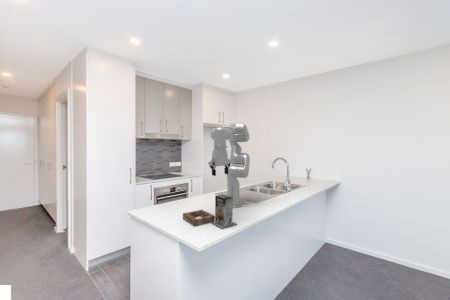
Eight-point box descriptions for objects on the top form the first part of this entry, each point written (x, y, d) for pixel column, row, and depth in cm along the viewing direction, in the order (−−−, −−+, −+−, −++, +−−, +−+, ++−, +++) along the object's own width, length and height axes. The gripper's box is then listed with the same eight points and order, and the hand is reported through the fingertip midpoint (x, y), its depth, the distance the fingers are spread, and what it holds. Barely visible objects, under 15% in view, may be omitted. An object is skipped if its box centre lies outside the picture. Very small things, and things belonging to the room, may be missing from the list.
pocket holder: (202, 214, 142) (202, 209, 142) (214, 221, 129) (214, 215, 129) (182, 218, 134) (182, 213, 134) (194, 226, 121) (194, 220, 121)
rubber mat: (225, 219, 132) (225, 218, 132) (236, 225, 123) (236, 224, 123) (211, 223, 126) (211, 222, 126) (221, 229, 117) (221, 228, 117)
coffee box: (214, 222, 126) (214, 195, 125) (222, 219, 130) (222, 194, 130) (225, 226, 119) (225, 198, 119) (233, 223, 123) (233, 196, 123)
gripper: (227, 147, 140) (227, 172, 141) (205, 148, 130) (205, 175, 130) (234, 147, 134) (234, 174, 135) (211, 148, 124) (212, 177, 124)
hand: (220, 174), depth 133 cm, fingers open, 9 cm apart
